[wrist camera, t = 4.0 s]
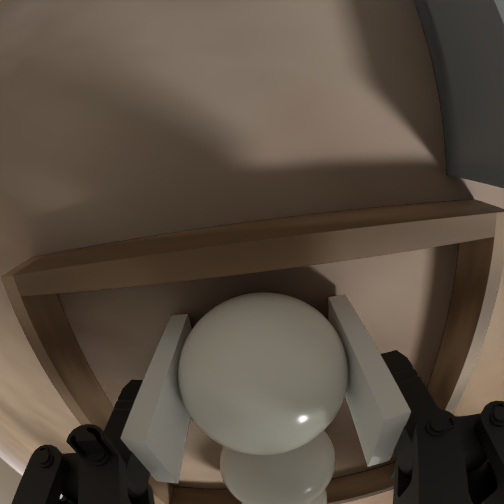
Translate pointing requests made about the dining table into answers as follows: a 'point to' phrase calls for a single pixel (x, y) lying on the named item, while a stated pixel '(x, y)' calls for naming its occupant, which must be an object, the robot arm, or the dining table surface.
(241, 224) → the tray
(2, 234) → the dining table surface
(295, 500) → the pebble
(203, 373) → the off-white glossy ball
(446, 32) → the grey shallow box
